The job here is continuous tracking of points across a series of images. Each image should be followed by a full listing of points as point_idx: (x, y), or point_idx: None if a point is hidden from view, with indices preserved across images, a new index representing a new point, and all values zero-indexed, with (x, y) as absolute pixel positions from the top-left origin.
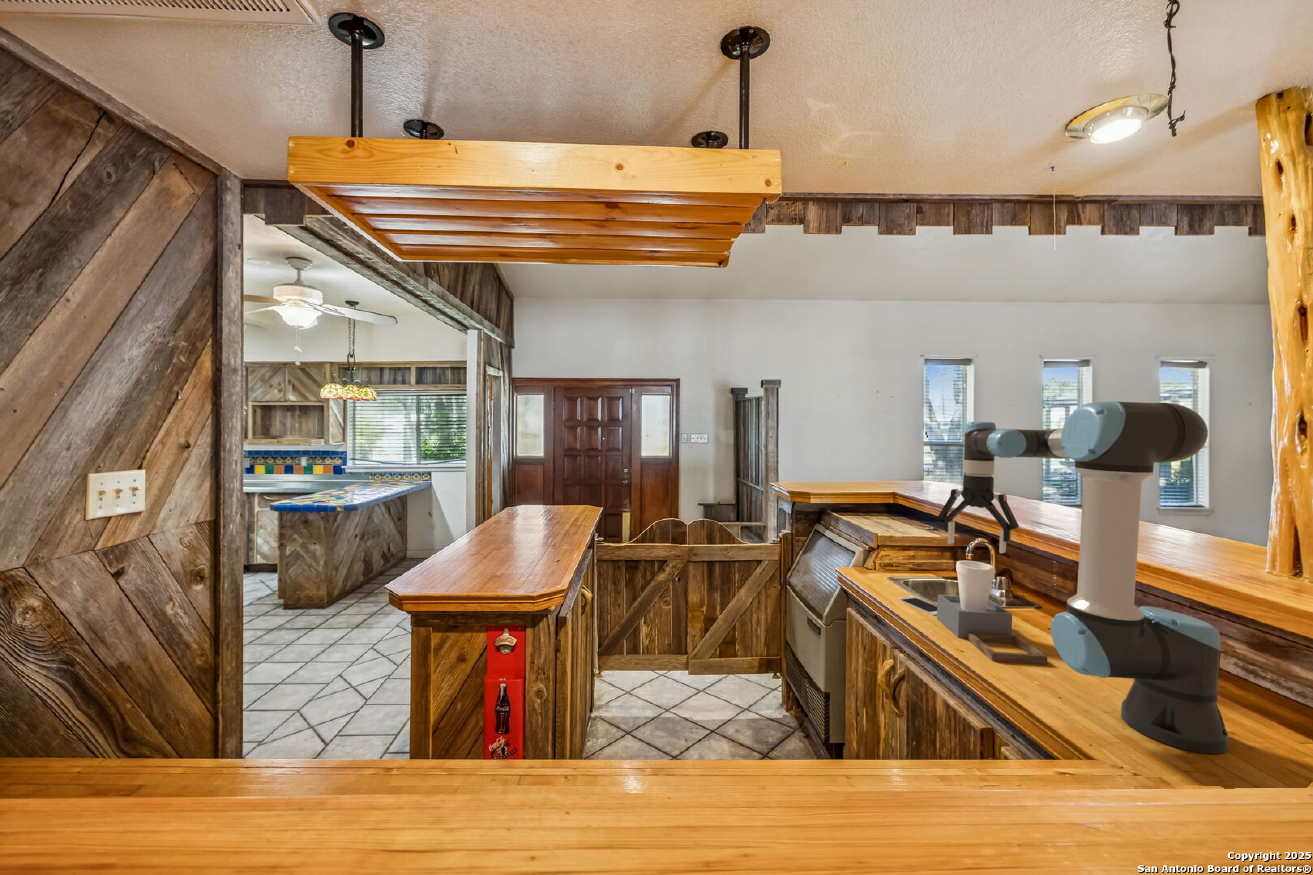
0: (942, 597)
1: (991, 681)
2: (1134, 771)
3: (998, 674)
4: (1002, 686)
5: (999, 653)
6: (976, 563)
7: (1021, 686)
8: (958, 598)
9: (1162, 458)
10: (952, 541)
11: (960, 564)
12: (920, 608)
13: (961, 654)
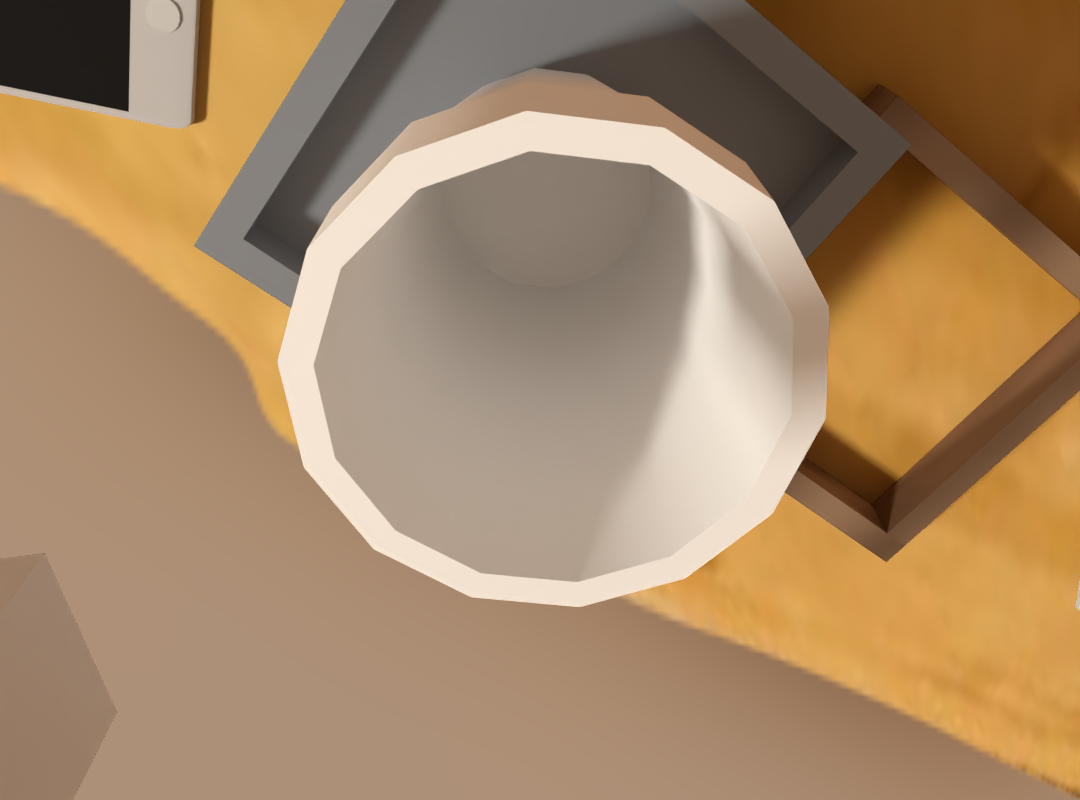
0: (279, 288)
1: (951, 730)
2: None
3: (951, 646)
4: (1002, 733)
5: (916, 532)
6: (462, 171)
7: (1068, 670)
8: (333, 98)
9: None
10: (58, 651)
11: (434, 553)
12: (29, 94)
13: (724, 594)
